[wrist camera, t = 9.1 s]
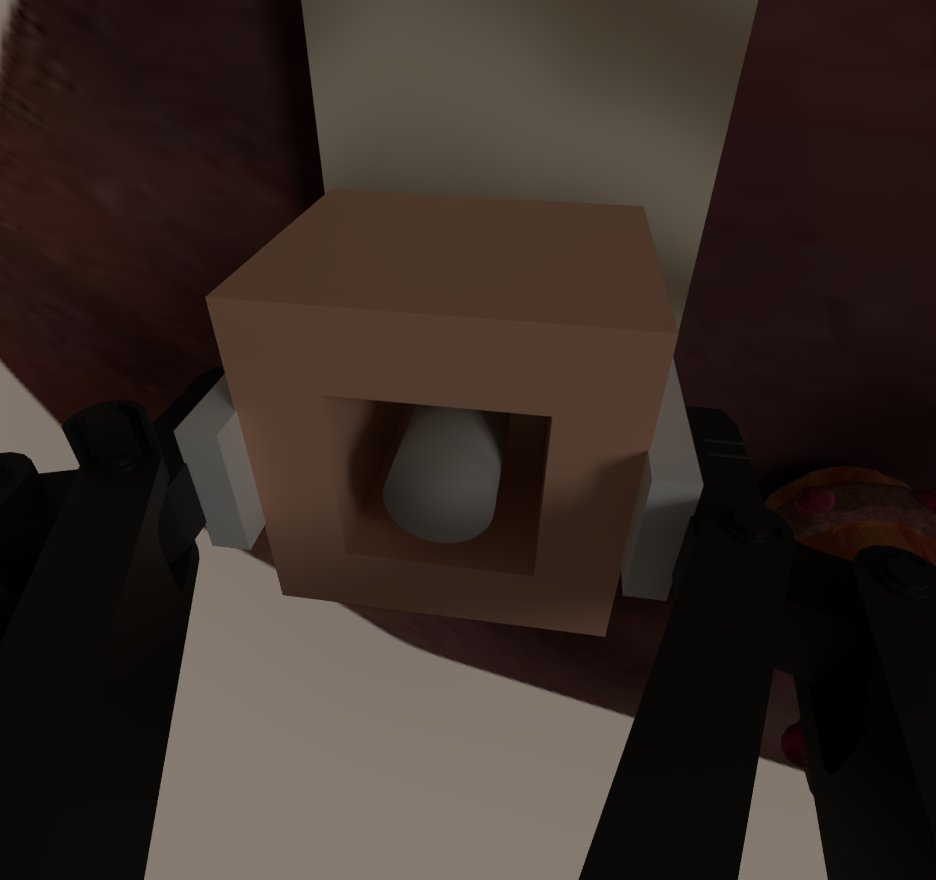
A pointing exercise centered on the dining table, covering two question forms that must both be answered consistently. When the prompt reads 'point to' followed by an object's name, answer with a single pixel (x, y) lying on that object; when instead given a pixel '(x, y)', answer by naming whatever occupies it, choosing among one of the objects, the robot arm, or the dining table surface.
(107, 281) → the dining table surface
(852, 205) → the dining table surface
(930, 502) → the mug
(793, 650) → the robot arm
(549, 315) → the bead
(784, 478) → the dining table surface
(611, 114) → the peg stand
